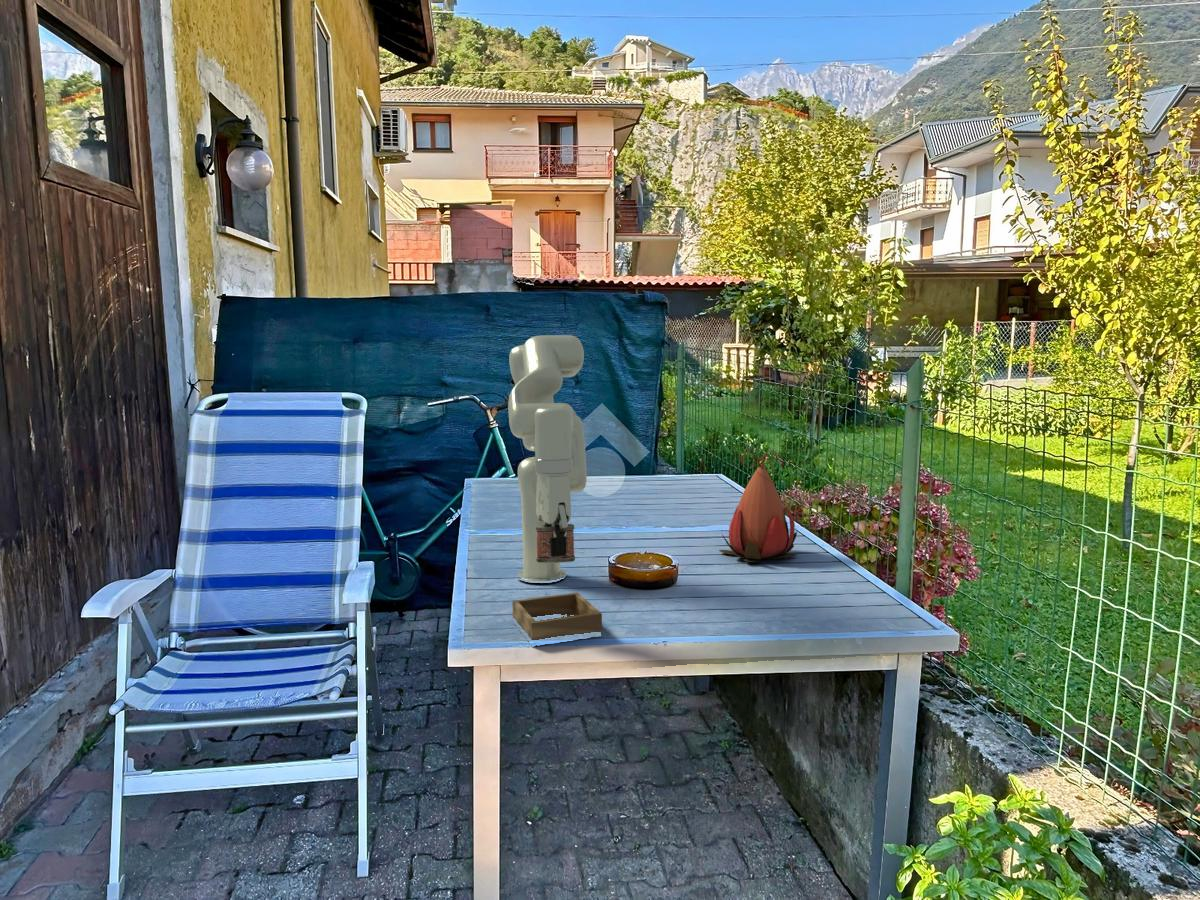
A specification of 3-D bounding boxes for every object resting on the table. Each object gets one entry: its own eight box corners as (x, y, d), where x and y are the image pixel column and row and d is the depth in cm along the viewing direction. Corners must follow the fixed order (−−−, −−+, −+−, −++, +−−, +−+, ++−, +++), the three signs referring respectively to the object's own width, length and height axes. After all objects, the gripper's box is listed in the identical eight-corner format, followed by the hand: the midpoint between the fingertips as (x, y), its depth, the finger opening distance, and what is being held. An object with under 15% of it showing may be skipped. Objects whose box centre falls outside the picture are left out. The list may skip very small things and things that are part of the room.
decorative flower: (798, 548, 233) (801, 447, 229) (795, 571, 211) (798, 458, 207) (723, 544, 239) (724, 445, 234) (712, 565, 217) (713, 456, 212)
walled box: (512, 622, 174) (512, 600, 173) (577, 614, 179) (577, 592, 178) (532, 647, 160) (531, 623, 159) (602, 636, 165) (601, 613, 164)
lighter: (574, 558, 169) (573, 511, 168) (574, 562, 166) (574, 514, 164) (536, 559, 169) (535, 512, 167) (536, 563, 165) (534, 515, 164)
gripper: (525, 462, 171) (526, 545, 173) (548, 473, 155) (550, 565, 158) (558, 460, 174) (559, 542, 176) (584, 471, 158) (585, 561, 161)
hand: (555, 552), depth 167 cm, fingers closed on lighter, 4 cm apart
